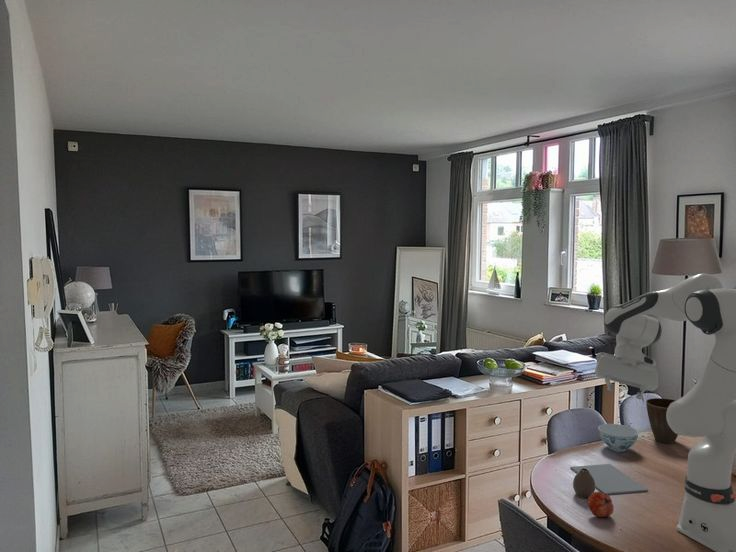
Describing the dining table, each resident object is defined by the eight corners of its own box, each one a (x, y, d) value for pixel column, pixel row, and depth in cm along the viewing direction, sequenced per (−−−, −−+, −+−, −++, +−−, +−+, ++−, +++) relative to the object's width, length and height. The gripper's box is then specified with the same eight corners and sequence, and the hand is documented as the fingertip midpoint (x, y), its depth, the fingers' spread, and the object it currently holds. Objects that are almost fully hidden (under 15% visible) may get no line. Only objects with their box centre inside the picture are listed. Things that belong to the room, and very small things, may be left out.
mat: (647, 491, 197) (648, 489, 197) (604, 494, 194) (604, 493, 194) (609, 465, 219) (609, 463, 219) (570, 468, 216) (570, 466, 216)
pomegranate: (583, 519, 182) (598, 513, 174) (579, 495, 186) (593, 487, 178) (605, 521, 183) (621, 514, 174) (601, 497, 187) (616, 489, 179)
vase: (596, 501, 190) (597, 474, 189) (574, 499, 191) (575, 473, 191) (592, 491, 197) (593, 466, 196) (571, 489, 198) (572, 464, 197)
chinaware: (632, 443, 242) (632, 425, 241) (642, 457, 227) (643, 437, 226) (594, 440, 244) (594, 422, 244) (601, 454, 230) (602, 435, 229)
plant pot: (654, 446, 238) (655, 408, 237) (638, 434, 253) (640, 397, 251) (691, 447, 237) (693, 408, 236) (673, 434, 252) (675, 398, 251)
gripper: (599, 346, 204) (595, 381, 197) (661, 362, 200) (659, 399, 193) (594, 354, 209) (590, 389, 202) (654, 370, 205) (652, 406, 198)
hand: (624, 394), depth 197 cm, fingers open, 8 cm apart
